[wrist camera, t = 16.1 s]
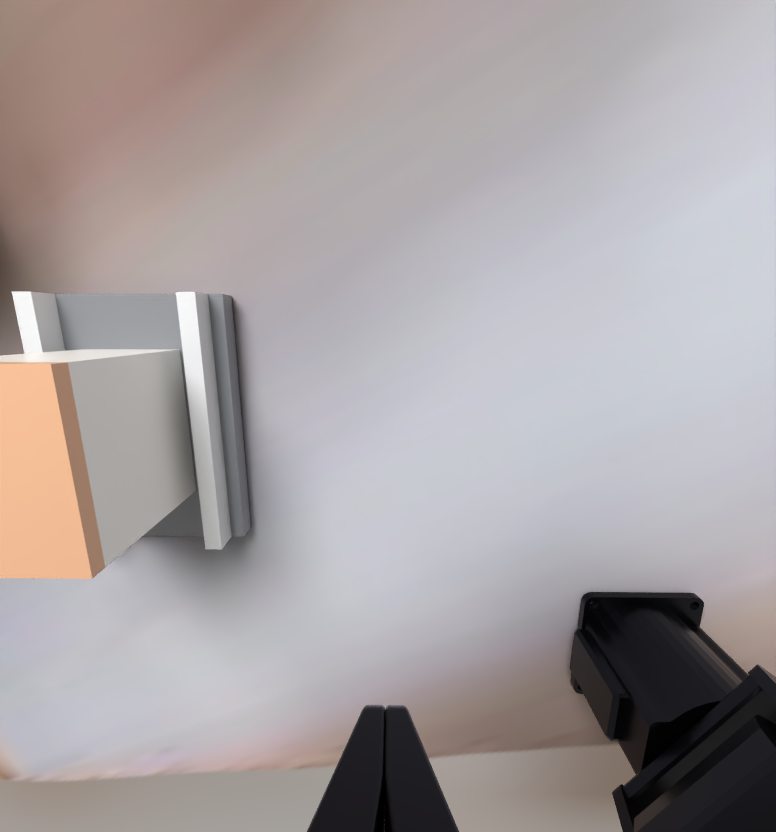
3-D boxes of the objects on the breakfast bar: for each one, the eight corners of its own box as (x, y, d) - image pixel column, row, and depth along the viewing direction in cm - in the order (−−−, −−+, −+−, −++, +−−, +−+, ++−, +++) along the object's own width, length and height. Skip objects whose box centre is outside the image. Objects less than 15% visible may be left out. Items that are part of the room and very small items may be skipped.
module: (179, 349, 18) (50, 364, 11) (196, 490, 20) (91, 578, 13) (82, 349, 18) (-105, 363, 11) (107, 490, 20) (-45, 577, 13)
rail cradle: (231, 296, 18) (210, 291, 16) (250, 526, 21) (234, 549, 19) (42, 295, 18) (-4, 291, 16) (85, 525, 21) (51, 548, 19)
